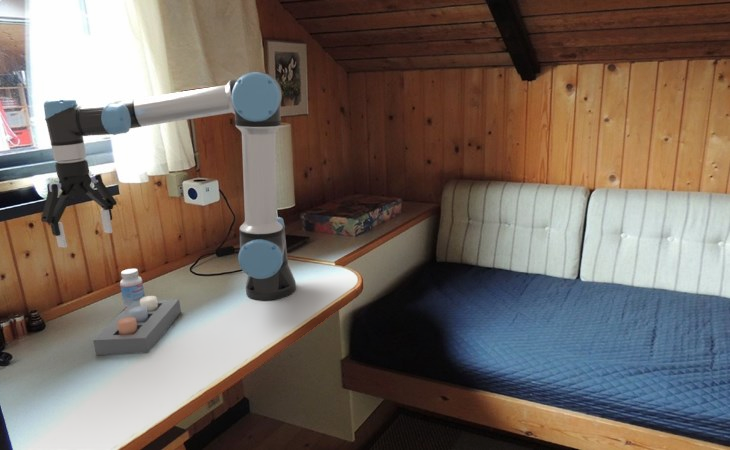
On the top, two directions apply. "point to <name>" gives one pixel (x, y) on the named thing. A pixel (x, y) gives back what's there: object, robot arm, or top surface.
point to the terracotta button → (127, 326)
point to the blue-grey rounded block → (139, 313)
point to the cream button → (149, 303)
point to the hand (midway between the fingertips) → (86, 239)
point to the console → (146, 332)
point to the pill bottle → (131, 287)
